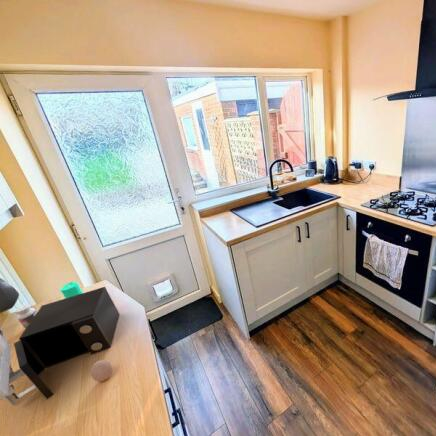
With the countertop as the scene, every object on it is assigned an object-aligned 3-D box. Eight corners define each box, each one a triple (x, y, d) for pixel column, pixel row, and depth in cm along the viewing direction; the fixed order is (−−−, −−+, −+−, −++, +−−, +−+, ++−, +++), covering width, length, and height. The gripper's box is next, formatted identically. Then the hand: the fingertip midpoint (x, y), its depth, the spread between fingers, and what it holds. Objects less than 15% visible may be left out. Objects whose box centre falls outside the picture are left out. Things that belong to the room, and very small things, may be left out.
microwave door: (20, 417, 69) (-12, 385, 63) (14, 389, 77) (-14, 358, 71) (53, 394, 74) (27, 362, 68) (45, 370, 82) (20, 339, 76)
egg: (108, 384, 76) (99, 370, 73) (92, 386, 76) (82, 372, 73) (119, 368, 80) (110, 354, 77) (103, 369, 80) (94, 356, 78)
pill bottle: (24, 333, 99) (10, 315, 95) (28, 324, 103) (15, 307, 99) (41, 326, 101) (28, 309, 97) (45, 318, 106) (32, 301, 101)
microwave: (110, 349, 87) (91, 318, 81) (40, 375, 81) (14, 344, 75) (119, 314, 103) (104, 286, 97) (62, 334, 96) (41, 305, 90)
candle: (79, 309, 109) (66, 288, 104) (68, 308, 110) (54, 287, 105) (91, 299, 114) (79, 278, 109) (80, 299, 115) (68, 278, 110)
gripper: (-7, 370, 57) (26, 404, 63) (-1, 323, 70) (26, 354, 76) (-49, 392, 53) (-9, 425, 59) (-34, 338, 67) (-3, 369, 73)
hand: (11, 385), depth 68 cm, fingers open, 4 cm apart
